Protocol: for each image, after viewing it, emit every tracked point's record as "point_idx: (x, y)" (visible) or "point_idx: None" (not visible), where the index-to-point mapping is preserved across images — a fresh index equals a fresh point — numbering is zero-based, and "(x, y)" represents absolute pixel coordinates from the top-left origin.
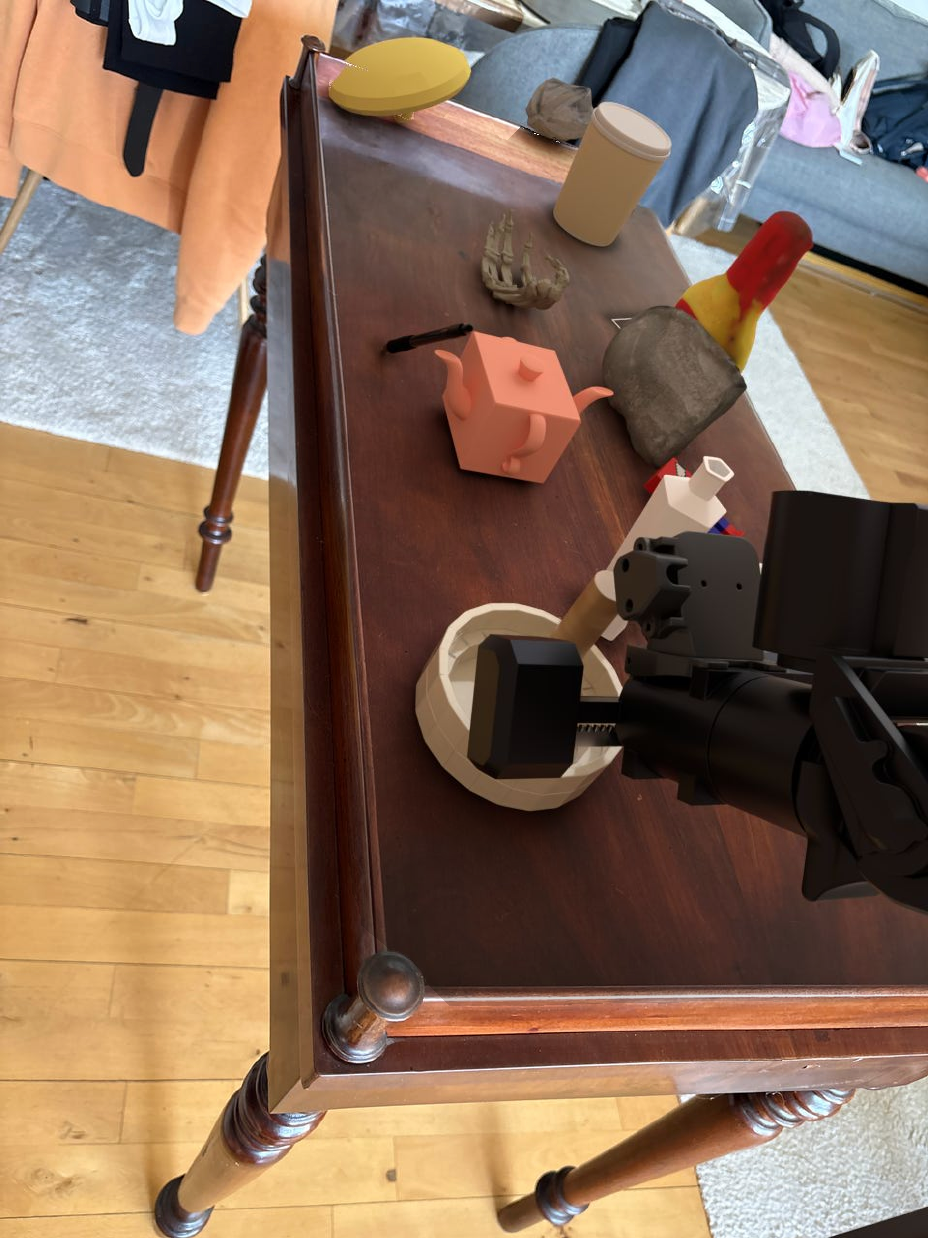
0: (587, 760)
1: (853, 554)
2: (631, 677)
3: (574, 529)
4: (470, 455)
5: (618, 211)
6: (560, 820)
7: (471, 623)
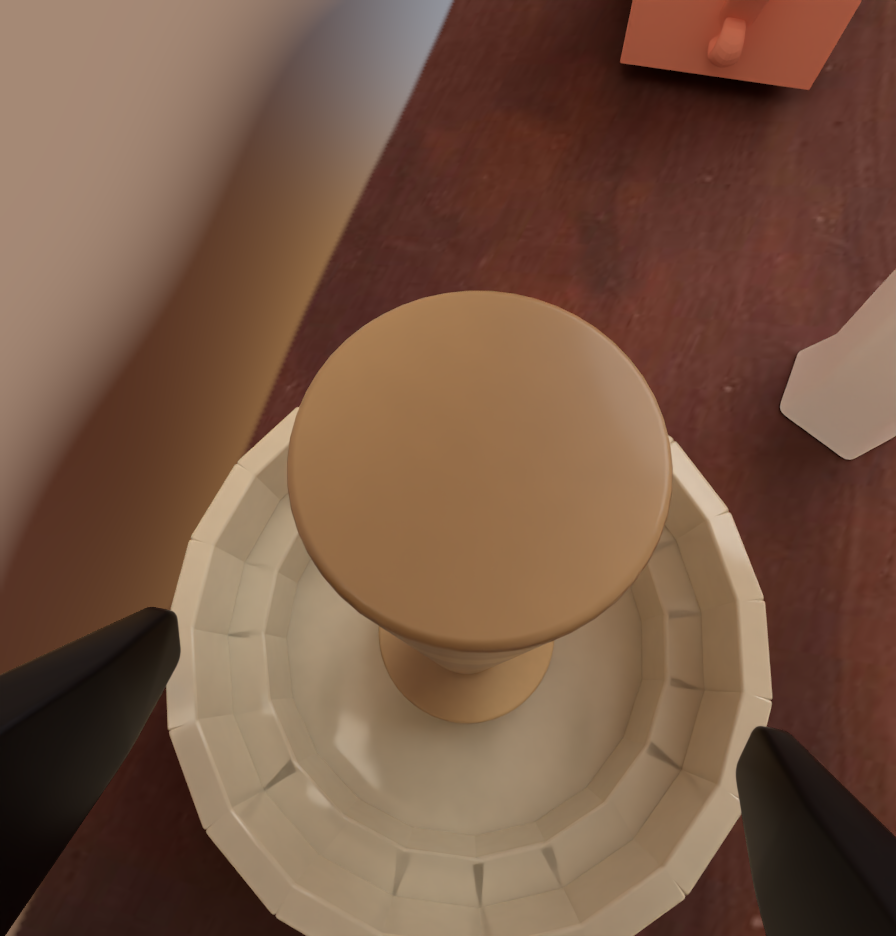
0: (581, 846)
1: None
2: (753, 749)
3: (854, 192)
4: (635, 24)
5: None
6: None
7: None
